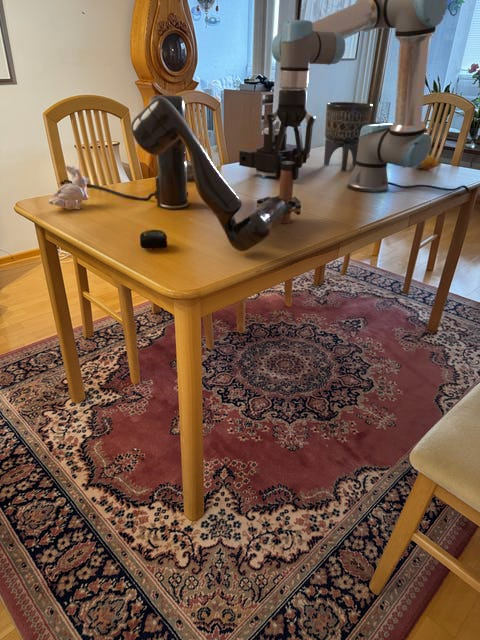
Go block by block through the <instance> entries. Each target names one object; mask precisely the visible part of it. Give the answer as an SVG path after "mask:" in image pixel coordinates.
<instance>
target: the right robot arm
mask: <svg viewBox="0 0 480 640" xmlns="http://www.w3.org/2000/svg"><path fill="white" fill-rule="evenodd" d="M447 5H448V0H355V3H354V4H351V5H349V6H346V7H344V8H342V9H340V10H338V11H336V12H334V13H331V14H328V15H327V16H325V17H323V18H320V19H318V20H315V21H313V22H312V21H311V20H305V19H289V20H285V22H284V23H283V26H282V32H281V33H278V34H276V35H275V37H274V38H273V40H272V42H271V55H272V57H273V59H274V60H275V61H276V62H278V63H280V69H279V84H278V87H279V88H280V89H279V91H278V101H277V102H278V103H277V109H276V110H275V112H271V113H268V114H267V115H266V118H267V122H268V128H269V130H268V151H271V152H272V153H273V154H274V162H273V164H274V166H276V176H275V179H280V171H281V169H280V162H282V153H280V152H281V151H280V150H281V146H282V143H283V139H284V135H285V132H286V129H287V130H288V127H290V128H293V132H294V138H295V145H296V147H297V154H298V155H296V156H295V160H294V173H293V180H294V181H297V180H298V179H299V173H300V171H299V170H300V169H301V168H302V167H303V156H304V155H307V154H308V153H311V147H312V137H313V128H314V123H315V121H316V119H317V117H316V116H315V115H311V114H310V113H308V111H307V99H308V98H307V97H308V91H307V90H306V89H307V88H308V85H309V73H310V65H326V66H327V65H328V66H331V65H334V64H338V63H340V61H341V60H342V59H343V57H344V55H345V52H346V40H345V39H347V38H349V37H351V36H354V35H357V34H358V33H360V32H363V33H368V32H371V31H373V30H376V29H395V30H394V33H395V34H394V37H395V39H396V40H397V41H398V42H399V48H398V49H399V50H398V64H397V66H398V67H397V80H396V95H395V96H396V97H395V111H394V112H395V114H394V122H393V123H379V124H378V123H377V124H376V123H375V124H369V125H365V126H363V127H362V128H361V132H360V136H359V142H358V150H357V158H356V165H355V166H354V167H353V171H351V174H350V176H349V179H348V180H347V181H348V182H347V187H348V188H349V189H351V190H354V191H358V192H363V193H364V192H365V193H382V192H386V191H388V189H389V185H390V186H393V187H396V188H400V189H410V188H419V187H420V188H429V189H436V190H440V191H447V192H448V191H449V192H453V191H454V192H455V191H458V190H460V189H462V188H463V189H465V191H468V190H469V187H468V186H466V185H464V184H463V185H460V186H457V187H454V188H448V187H440V186H436V185H429V184H412V185H401V184H397V183H394V182H390V181H389V178H388V173H387V172H388V171H387V166H388V164H389V165H392V166H393V165H394V166H396V167H397V166H398V167H402V168H409V169H414V168H417V167H418V166H419V165H420V164H421V163H422V162H423V161H424V160H425V158H426V157H427V155H429V154H430V151H431V149H432V148H431V147H432V137H431V135H430V134H428V133H427V132H426V124H425V122H423V120H422V117H423V107H424V97H425V86H426V77H427V76H426V75H427V66H428V56H429V45H430V39H431V37H433V35H434V34H435V33H436V29H437V26H439V25H440V24H441V23H442V22H443V20H444V16H445V15H446V12H447ZM277 118H278V121H279V122H280V124H279V128H280V130H279V134H278V137H277V141H276V145H275V147H274V144H275V121H277ZM304 120H305V123H306V128H305V137H304V143H303V135H302V125H301V123H302V122H303V121H304ZM303 148H304V150H303ZM279 153H280V154H279Z"/></svg>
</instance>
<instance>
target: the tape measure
mask: <svg viewBox="0 0 480 640" xmlns="http://www.w3.org/2000/svg"><path fill="white" fill-rule="evenodd" d="M167 236H168V235H167V234H166V232H165V231H164V230H161V229H147V230H144V231H143V232H141V233H140V235H139V240H140V241H139V245H140V246H139V247H141V248H142V249H146V250H157V249H167V248H168V240H167V239H168V237H167Z"/></svg>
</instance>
